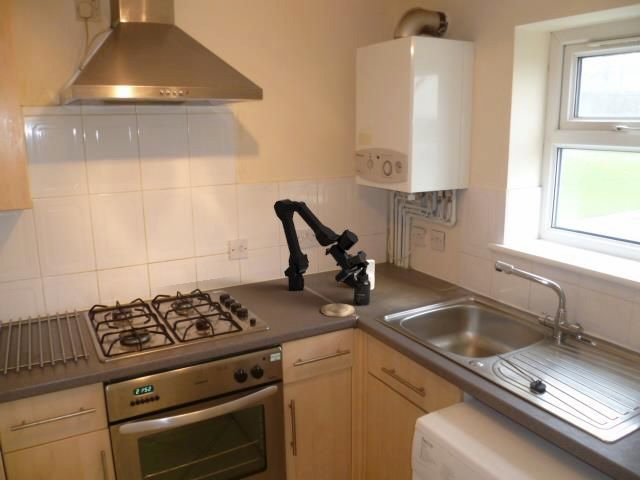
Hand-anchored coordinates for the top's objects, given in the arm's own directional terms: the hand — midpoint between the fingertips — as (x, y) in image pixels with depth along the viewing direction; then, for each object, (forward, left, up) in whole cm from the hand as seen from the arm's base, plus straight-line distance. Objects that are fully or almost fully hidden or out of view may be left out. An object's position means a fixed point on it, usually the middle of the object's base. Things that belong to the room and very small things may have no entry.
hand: (365, 287), depth 216 cm
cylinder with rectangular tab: (+4, +21, -7) cm, 22 cm away
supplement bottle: (-1, +1, -7) cm, 7 cm away
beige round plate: (-12, -7, -7) cm, 15 cm away
